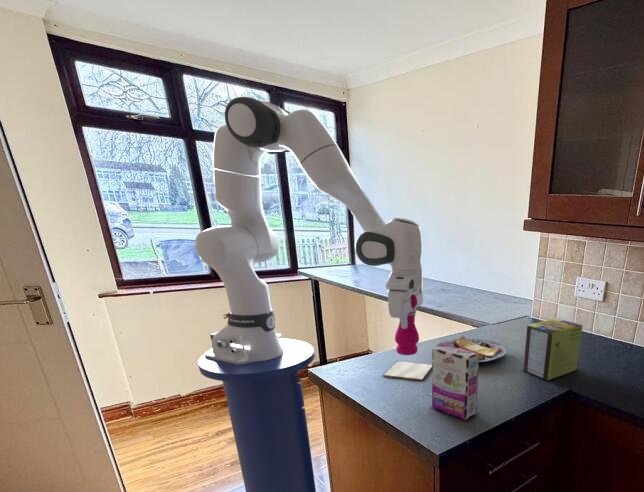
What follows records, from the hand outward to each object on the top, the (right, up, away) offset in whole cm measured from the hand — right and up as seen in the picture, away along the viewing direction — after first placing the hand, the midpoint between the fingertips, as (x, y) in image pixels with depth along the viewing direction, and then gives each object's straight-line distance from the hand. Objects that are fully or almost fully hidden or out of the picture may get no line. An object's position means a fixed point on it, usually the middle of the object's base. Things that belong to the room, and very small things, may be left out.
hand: (408, 325), depth 121 cm
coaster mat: (-1, -14, +6) cm, 15 cm away
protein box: (+44, -14, +11) cm, 48 cm away
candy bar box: (+15, -24, -17) cm, 33 cm away
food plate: (+18, -8, +22) cm, 29 cm away
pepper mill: (-1, -8, +3) cm, 9 cm away
